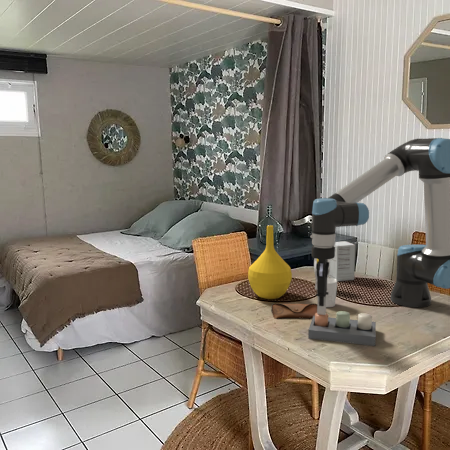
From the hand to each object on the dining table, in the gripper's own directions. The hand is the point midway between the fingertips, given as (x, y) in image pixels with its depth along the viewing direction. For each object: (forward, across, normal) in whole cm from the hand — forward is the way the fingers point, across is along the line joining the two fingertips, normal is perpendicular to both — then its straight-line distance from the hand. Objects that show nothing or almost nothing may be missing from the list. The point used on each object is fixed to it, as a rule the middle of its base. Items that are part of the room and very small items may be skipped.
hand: (321, 313), depth 157 cm
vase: (+7, -33, -25) cm, 42 cm away
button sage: (+3, 0, +7) cm, 8 cm away
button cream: (+3, 0, +14) cm, 14 cm away
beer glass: (+7, -48, -5) cm, 49 cm away
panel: (+7, 0, +7) cm, 10 cm away
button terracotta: (+4, 0, 0) cm, 4 cm away
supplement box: (+7, -67, +2) cm, 67 cm away
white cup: (+7, -28, -1) cm, 29 cm away
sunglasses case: (+7, -14, -11) cm, 19 cm away
